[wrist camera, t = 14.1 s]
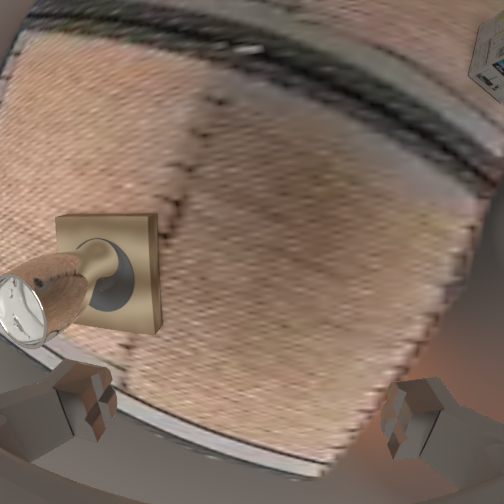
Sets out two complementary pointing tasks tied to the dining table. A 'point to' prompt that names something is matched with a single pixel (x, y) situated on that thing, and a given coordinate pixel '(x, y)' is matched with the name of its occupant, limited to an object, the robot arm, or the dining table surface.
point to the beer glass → (55, 291)
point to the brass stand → (133, 269)
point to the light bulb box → (490, 57)
